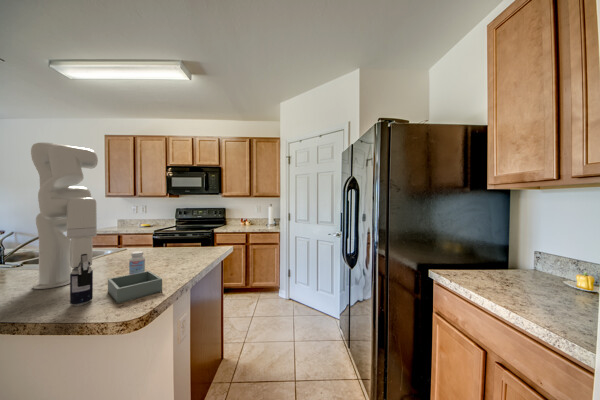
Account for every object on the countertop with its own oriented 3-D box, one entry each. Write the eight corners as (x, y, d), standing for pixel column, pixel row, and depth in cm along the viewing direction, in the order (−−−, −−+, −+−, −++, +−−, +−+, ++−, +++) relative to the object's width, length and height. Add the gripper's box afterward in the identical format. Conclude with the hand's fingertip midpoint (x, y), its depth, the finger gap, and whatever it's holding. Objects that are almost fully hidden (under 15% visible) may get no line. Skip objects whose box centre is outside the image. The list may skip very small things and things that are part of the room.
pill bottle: (127, 279, 105) (128, 254, 105) (130, 275, 110) (130, 251, 110) (143, 277, 107) (144, 252, 108) (145, 273, 113) (145, 250, 113)
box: (107, 291, 90) (107, 278, 90) (149, 282, 100) (149, 270, 100) (117, 303, 79) (117, 289, 79) (162, 291, 90) (162, 278, 90)
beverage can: (97, 299, 82) (97, 266, 82) (80, 307, 77) (80, 271, 77) (82, 299, 83) (82, 266, 83) (65, 306, 77) (65, 270, 77)
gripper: (64, 232, 83) (64, 280, 82) (69, 236, 71) (69, 291, 71) (92, 230, 88) (92, 275, 88) (100, 233, 77) (101, 285, 77)
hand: (82, 282), depth 79 cm, fingers open, 9 cm apart
